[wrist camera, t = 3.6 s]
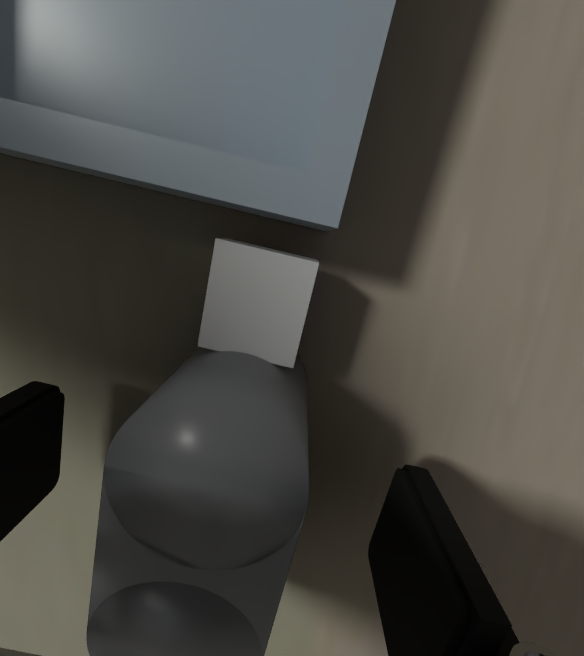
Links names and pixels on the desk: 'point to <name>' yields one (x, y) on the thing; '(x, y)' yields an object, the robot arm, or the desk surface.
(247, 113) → the tray
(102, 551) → the graphite plug
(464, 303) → the desk surface
